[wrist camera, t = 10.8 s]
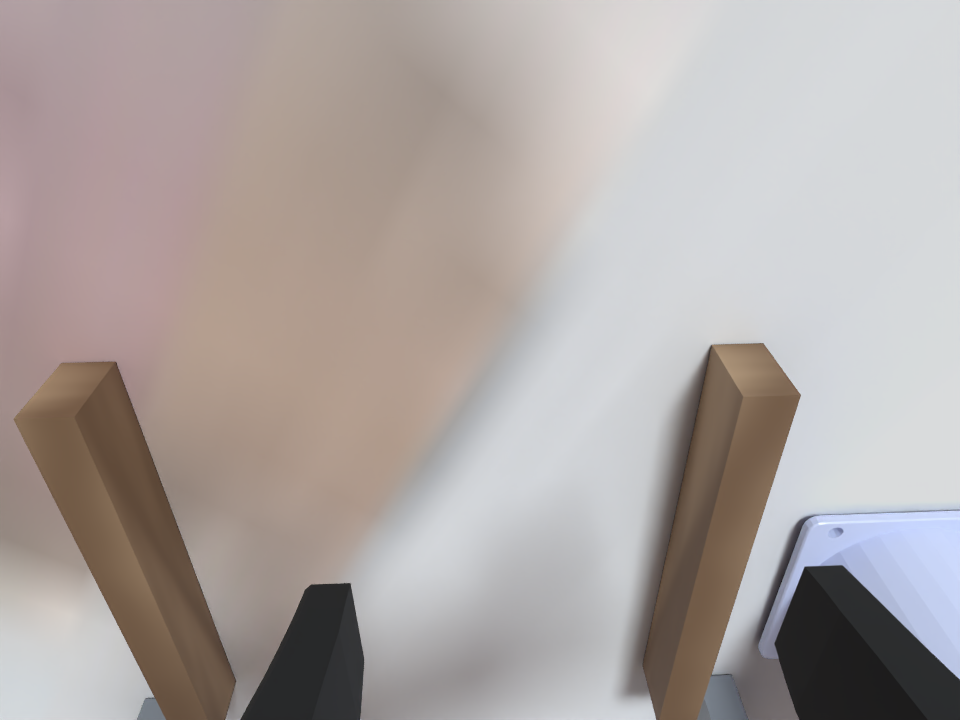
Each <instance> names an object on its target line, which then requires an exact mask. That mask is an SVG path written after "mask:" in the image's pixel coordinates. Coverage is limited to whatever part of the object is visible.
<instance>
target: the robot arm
mask: <svg viewBox="0 0 960 720" xmlns="http://www.w3.org/2000/svg"><path fill="white" fill-rule="evenodd" d="M758 649H759V651H760V653H761V655H762V656H763V657H764V658H767V659H779V661H780V664H781V667H782V671H783V674H784V677H785V680H786V683H787V686H788V689H789V692H790V695H791V698H792V701H793V704H794V707H795V710H796V713H797V715H798V717H799V720H960V511H933V512H904V513H875V514H847V515H819V516H814V517H812V518H809V519H808V520H807V521H806V522H805V523H804V525H803V526H802V529H801V532H800V534H799V537H798V540H797V542H796V545H795V548H794V551H793V553H792V556H791V559H790V561H789V564H788V567H787V569H786V572H785V575H784V577H783V580H782V583H781V585H780V588H779V591H778V594H777V596H776V599H775V602H774V604H773V607H772V610H771V612H770V615H769V618H768V620H767V623H766V626H765V628H764V631H763V634H762V637H761V639H760V642H759V645H758ZM363 671H364V656H363V650H362V645H361V639H360V634H359V628H358V623H357V617H356V612H355V606H354V601H353V595H352V590H351V584H350V583H344V584H317V585H310V586H309V587H308V588H307V589H305V591H304V594H303V596H302V599H301V601H300V603H299V606H298V608H297V610H296V613H295V615H294V617H293V619H292V621H291V624H290V626H289V628H288V630H287V632H286V634H285V636H284V638H283V640H282V642H281V644H280V647H279V649H278V650H277V652H276V654H275V656H274V658H273V660H272V662H271V664H270V666H269V668H268V670H267V672H266V674H265V676H264V678H263V680H262V681H261V683H260V685H259V687H258V689H257V691H256V692H255V694H254V696H253V698H252V700H251V701H250V703H249V705H248V707H247V709H246V711H245V712H244V714H243V716H242V718H241V720H360V713H361V701H362V686H363Z"/></svg>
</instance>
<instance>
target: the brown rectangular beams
mask: <svg viewBox="0 0 960 720" xmlns="http://www.w3.org/2000/svg"><path fill="white" fill-rule="evenodd" d="M800 396H801V395H800V393H799V392H798V391H797V389H796V388H795V386H794V385H793V384H792V382H791V381H790V380H789V378H788V377H787V375H786V374H785V373H784V371H783V370H782V368H781V367H780V366H779V364H778V363H777V362H776V360H775V359H774V357H773V356H772V355H771V353H770V352H769V351H768V349H767V348H766V346H765V345H764V344H763V343H758V344H723V345H712V347H711V351H710V356H709V361H708V365H707V370H706V375H705V379H704V384H703V388H702V393H701V398H700V402H699V407H698V411H697V416H696V421H695V425H694V430H693V435H692V439H691V444H690V448H689V453H688V458H687V462H686V467H685V472H684V476H683V481H682V485H681V490H680V495H679V499H678V504H677V508H676V513H675V518H674V522H673V527H672V532H671V536H670V541H669V545H668V550H667V555H666V559H665V564H664V568H663V573H662V578H661V582H660V587H659V592H658V596H657V601H656V605H655V610H654V615H653V619H652V624H651V629H650V633H649V638H648V642H647V647H646V652H645V656H644V661H643V669H644V673H645V676H646V680H647V684H648V688H649V692H650V696H651V700H652V704H653V708H654V712H655V716H656V720H697V718H698V715H699V712H700V709H701V706H702V703H703V700H704V696H705V693H706V690H707V687H708V684H709V681H710V678H711V674H712V671H713V668H714V665H715V662H716V659H717V656H718V653H719V649H720V646H721V643H722V640H723V637H724V634H725V631H726V628H727V624H728V621H729V618H730V615H731V612H732V609H733V606H734V603H735V599H736V596H737V593H738V590H739V587H740V584H741V581H742V578H743V574H744V571H745V568H746V565H747V562H748V559H749V556H750V553H751V549H752V546H753V543H754V540H755V537H756V534H757V531H758V528H759V524H760V521H761V518H762V515H763V512H764V509H765V506H766V502H767V499H768V496H769V493H770V490H771V487H772V484H773V481H774V477H775V474H776V471H777V468H778V465H779V462H780V459H781V456H782V452H783V449H784V446H785V443H786V440H787V437H788V434H789V431H790V427H791V424H792V421H793V418H794V415H795V412H796V409H797V406H798V402H799V399H800ZM14 421H15V423H16V425H17V427H18V429H19V431H20V433H21V435H22V437H23V439H24V441H25V443H26V445H27V447H28V449H29V451H30V453H31V455H32V457H33V459H34V460H35V462H36V464H37V466H38V468H39V470H40V472H41V474H42V476H43V478H44V480H45V482H46V484H47V486H48V488H49V490H50V492H51V494H52V496H53V498H54V500H55V502H56V504H57V506H58V508H59V510H60V512H61V514H62V516H63V518H64V520H65V522H66V524H67V526H68V527H69V529H70V531H71V533H72V535H73V537H74V539H75V541H76V543H77V545H78V547H79V549H80V551H81V553H82V555H83V557H84V559H85V561H86V563H87V565H88V567H89V569H90V571H91V573H92V575H93V577H94V579H95V581H96V583H97V585H98V587H99V589H100V591H101V593H102V595H103V596H104V598H105V600H106V602H107V604H108V606H109V608H110V610H111V612H112V614H113V616H114V618H115V620H116V622H117V624H118V626H119V628H120V630H121V632H122V634H123V636H124V638H125V640H126V642H127V644H128V646H129V648H130V650H131V652H132V654H133V656H134V658H135V660H136V662H137V663H138V665H139V667H140V669H141V671H142V673H143V675H144V677H145V679H146V681H147V683H148V685H149V687H150V689H151V691H152V693H153V695H154V697H155V699H156V701H157V703H158V705H159V707H160V709H161V711H162V713H163V715H164V717H165V719H166V720H225V718H226V715H227V711H228V708H229V704H230V700H231V697H232V693H233V690H234V686H235V682H236V681H235V678H234V676H233V673H232V670H231V668H230V665H229V662H228V660H227V657H226V654H225V652H224V649H223V646H222V644H221V641H220V638H219V636H218V633H217V630H216V628H215V625H214V622H213V620H212V617H211V614H210V612H209V609H208V606H207V604H206V601H205V598H204V596H203V593H202V591H201V588H200V585H199V583H198V580H197V577H196V575H195V572H194V569H193V567H192V564H191V561H190V559H189V556H188V553H187V551H186V548H185V545H184V543H183V540H182V537H181V535H180V532H179V529H178V527H177V524H176V521H175V519H174V516H173V513H172V511H171V508H170V505H169V503H168V500H167V498H166V495H165V492H164V490H163V487H162V484H161V482H160V479H159V476H158V474H157V471H156V468H155V466H154V463H153V460H152V458H151V455H150V452H149V450H148V447H147V444H146V442H145V439H144V436H143V434H142V431H141V428H140V426H139V423H138V420H137V418H136V415H135V412H134V410H133V407H132V404H131V402H130V399H129V397H128V394H127V391H126V389H125V386H124V383H123V381H122V378H121V375H120V373H119V370H118V367H117V365H116V362H87V363H61V364H60V366H59V367H58V368H57V369H56V370H55V371H54V372H53V374H52V375H51V376H50V377H49V378H48V379H47V381H46V382H45V383H44V384H43V385H42V386H41V388H40V389H39V390H38V391H37V392H36V393H35V395H34V396H33V397H32V398H31V399H30V400H29V402H28V403H27V404H26V405H25V406H24V407H23V409H22V410H21V411H20V412H19V413H18V414H17V416H16V417H15V418H14Z"/></svg>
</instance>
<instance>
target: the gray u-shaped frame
mask: <svg viewBox="0 0 960 720" xmlns="http://www.w3.org/2000/svg"><path fill="white" fill-rule="evenodd" d="M137 720H166V719H165V717H164V715H163V713H162V711H161V709H160V707H159V705H158V703H157V701H156V699H155V698H151V699H145V700H144V703H143V706H142V708H141V711H140V713H139V716H138V718H137ZM697 720H748V717H747V715H746V712H745V709H744V706H743V704H742V701H741V698H740V696H739V693H738V690H737V687H736V685H735V682H734V679H733V677H732V675H714V676H711V678H710V681H709V684H708V687H707V690H706V693H705V696H704V700H703V703H702V706H701V709H700V712H699V715H698V718H697Z"/></svg>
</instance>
